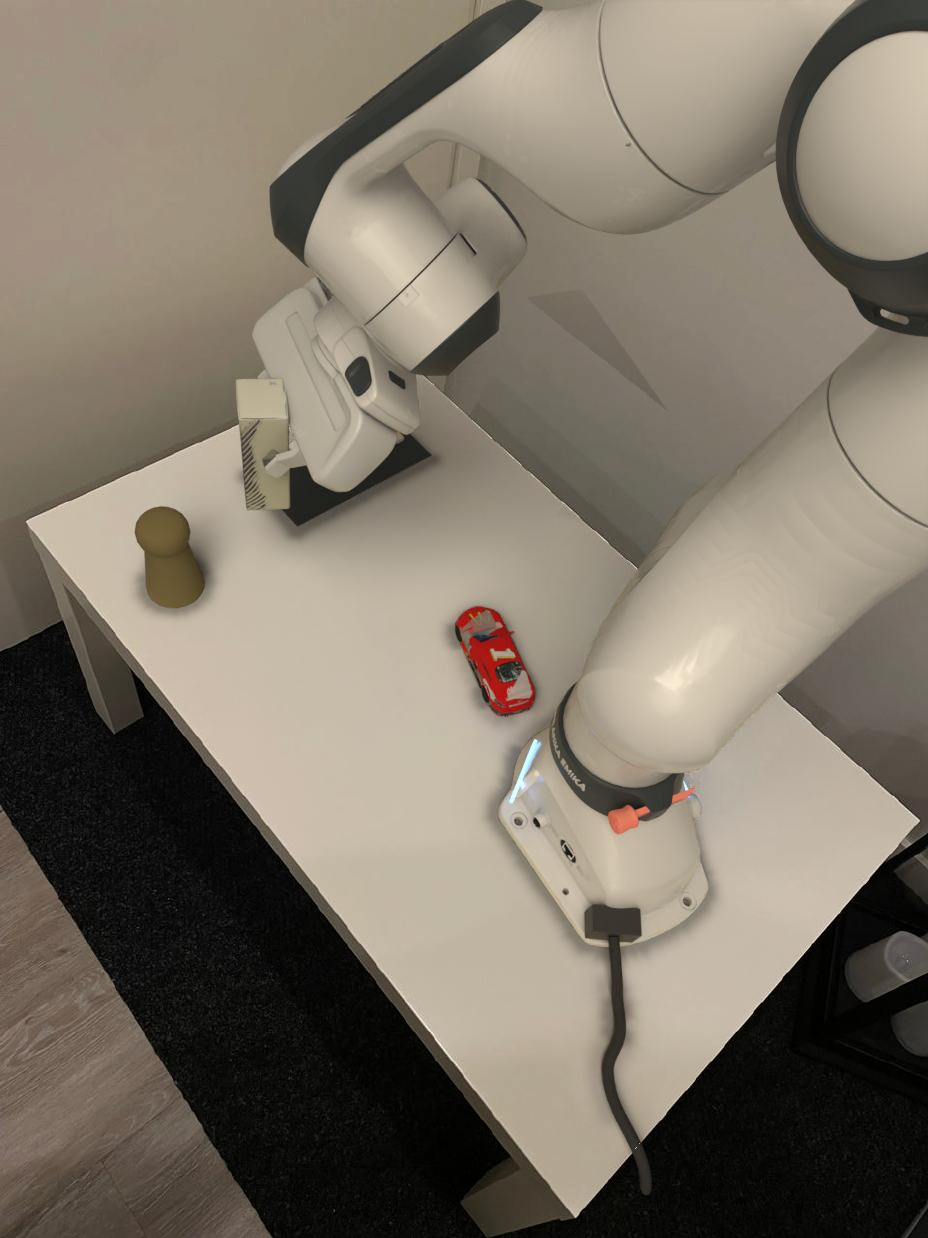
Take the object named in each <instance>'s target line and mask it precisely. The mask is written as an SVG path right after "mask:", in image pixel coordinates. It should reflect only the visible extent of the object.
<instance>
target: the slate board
mask: <svg viewBox="0 0 928 1238" xmlns="http://www.w3.org/2000/svg"><path fill="white" fill-rule="evenodd" d="M401 434H402V433H401ZM402 435H403V436H404V441H402V442H400V443H398V444H396V443H395V446H394V448H393V450H392V451H391V453H390V454H389V455H388V456H387V457H386V459H385V460H384V461H383V462H382V463H381V464H380V465H379V466H378V467H377V468H376V469H375V470H374V471H373V472H372V473H371V474H369V475H368V476H367V477H366V478H365V479H364V480H363V481H362V482H360V483H359V484H358V485H357V486H356V487H354V488H353V489H351V490H350V491H347V492H335V491H332V490H330V489H328V488H326V487H324V486H322V485H320V484H318V483H316V482H315V481H314V480H313V479H312V477H311V475H310V472H309V470H308V467H307V465H305V466H300V467H295V468H290V508H289V509H281V510H282V511H283V513H284V514H285V515H286V516H287V517H288V518H289V520H290V521H292V523H293V524H294V525H295V526H296V527H297V528H298V527H300V526H302V525H303V524H305V523H307V522H309V521H311V520H313V519H315V518H317V517H319V516H321V515H323V514H324V513H326V512H328V511H330V510H332V509H333V508H336V507H338V506H339V505H342V504H344V503H345V502H348V500H351V499H352V498H354V497H357V496H358V495H360V494H362V493H364V492H366V491H367V490H369V489H372V488H373V487H375V486H377V485H379V484H381V483H382V482H385V481H386V480H388V479H390V478H392V477H394V476H396V475H397V474H399V473H401V472H404V471H405V470H407V469H409V468H411V467H413V466H415V465H417V464H418V463H420V462H422V461H424V460H427V459H428V458H430V457H432V454H431V453H430V452H429V451H428V450H427V449H426V448H425V446H424V445H422V444H421V442H419V441H418V440H417V439H416V438H415V436H413V435H412V434H411V433H410V434H408V435H404V434H402Z"/></svg>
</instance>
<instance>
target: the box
mask: <svg viewBox="0 0 928 1238" xmlns="http://www.w3.org/2000/svg"><path fill="white" fill-rule="evenodd" d="M235 396H236V410H237V417H238V418H237V419H238V428H239V439H240V449H241V450H240V451H241V463H242V474H243V477H242V478H243V486H244V487H243V489H244V498H245V508H246V511H248V512H249V511H275V510H282V509H289V508H290V469H289V470H288V471H287V472H286V473H284V474H283V475H282V476H281V477H279V478H274V477H272V476H270V475H268V474H267V473H266V471H265V468H264V465H263V463H262V459H263V458H264V457H265V456H267V454H268V453H269V452H270V451H271V450H272V449H274V450H276V451H278V452H279V453H284V452H287V451H290V448H289V444H290V425H289V418H288V404H287V395H286V388H285V384H284V380H283V379H282V378H258V377H257V378H237V379H236V380H235Z"/></svg>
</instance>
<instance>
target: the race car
mask: <svg viewBox="0 0 928 1238" xmlns="http://www.w3.org/2000/svg"><path fill="white" fill-rule="evenodd" d="M454 632H455V633H454V634H455V636H456V639H457V640H458V642H459V643H460V646H461V648H462V651H463V653H464V655H465V657H466V660H467V662H468V664H469V666H470V669H471V671H472V673H473V675H474V678H475V680H476V683H477V684H478V686H479V688H480V689H481V695H482V699H483V700H484V702H485V703H486V704H488V707H489V708H490V710H491V711H492V712H493V713H494V714H495V715H497V716H499V717H505V718H506V717H509V716H514V715H517V714H521V713H523V712H525V711H529V710H531V709H530V708H532V707H533V705H534V703H535V700H536V690H535V686H534V683H533V680H532V677H531V674H530V673H529V671H528V669H527V667H526V665H525V663H524V661H523V659H522V656H521V653H520V651H519V650H518V647H517V646H516V643H515V641H514V639H513V638H512V637H513V636H512V635H514V634H515V633H516V632H515V631H511V630H509V629H508V627H507V625H506V623H505V622H504V619H503V617H502V615H501V614H500V612H498V611H497V610H495V609H493V608H490V607H485V606H481V605H480V606H478V605H477V606H473V607H472V606H471V607H469V608H468V609H466V610H465V611H463V612H462V613H461V614H460V615H459V616H458V618H457V619H456V621H455V623H454Z"/></svg>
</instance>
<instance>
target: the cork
mask: <svg viewBox="0 0 928 1238" xmlns="http://www.w3.org/2000/svg"><path fill="white" fill-rule="evenodd" d="M190 527H191V526H190V522H189V521H188V519H187V518H186V516H185V515H184V514H183V513H182V512H180V511H179V510H177V509H175V508H174V507H170V506H165V505H164V506H163V505H160V506H154V507H150V508H149V509H147V510H145V511H144V512H143V513H142V514H141V515H140V516H138V519H137V520H136V522H135V525H134V537H135V539H136V542H137V544H138V545H139V547H140V548H141V549H142V551H143V553H144V554H143V555H144V556H143V557H144V574H145V588H146V593H147V595H148V597H149V598H150V600H151V601H152V602H153V603H155V604H156V605H158V606H160V607H162V608H163V607H164V608H167V609H180V608H184V607H187V606H189V605H191V604H193V603H195V602H196V601H197V600H198V599H199V598H200V597H201V596H202V593H203V592H204V590H205V583H206V582H205V578H204V575H203V572H202V571H201V568H200V566H199V564H198V561H197V559H196V556H195V554H194V552H193V550H192V548H191V545H190V543H189V542H190V539H191V528H190Z"/></svg>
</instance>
